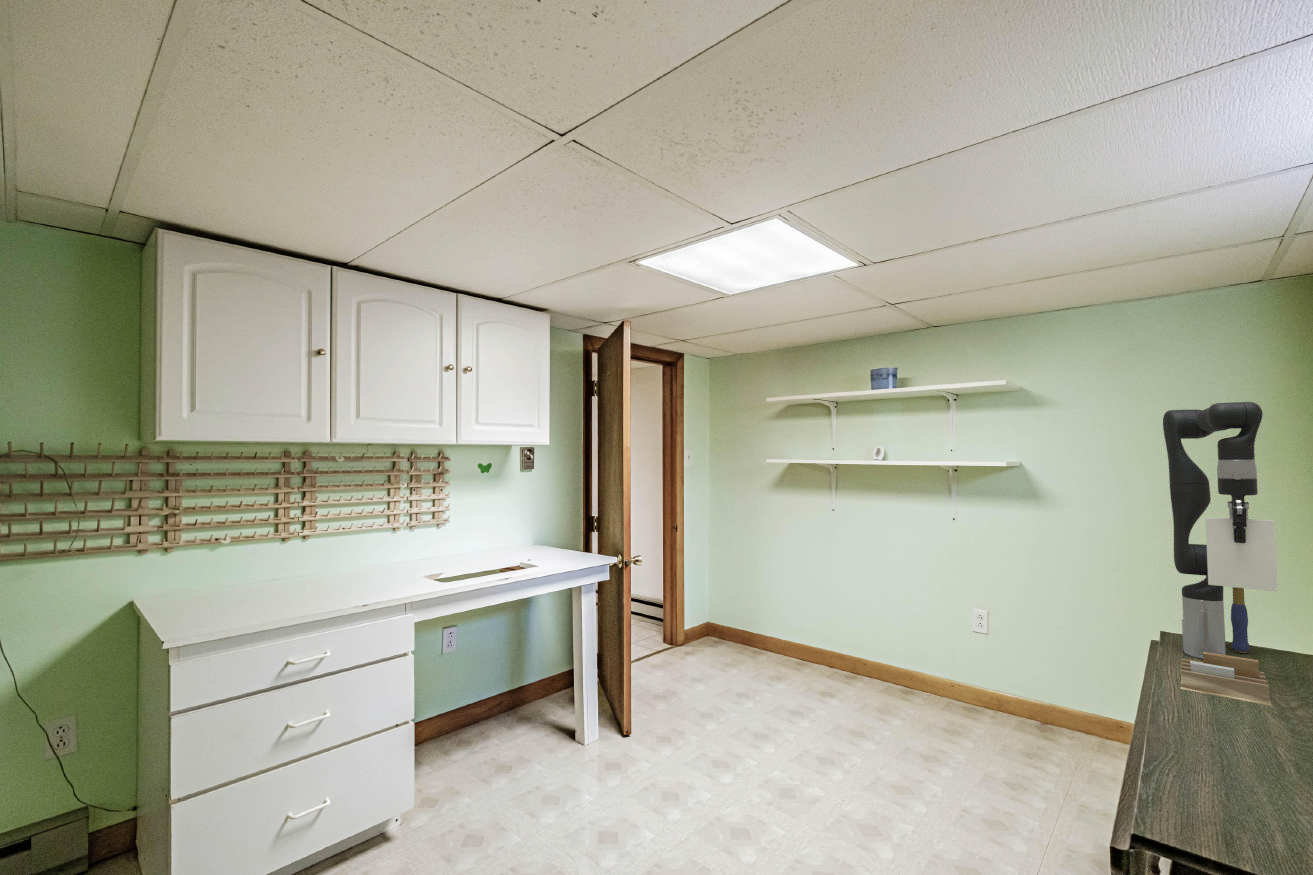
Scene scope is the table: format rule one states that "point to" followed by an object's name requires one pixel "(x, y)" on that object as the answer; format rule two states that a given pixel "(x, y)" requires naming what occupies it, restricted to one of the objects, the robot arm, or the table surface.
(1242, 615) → the rubber mallet
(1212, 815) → the table surface
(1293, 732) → the table surface
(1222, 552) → the sheet
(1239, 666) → the offcut oak
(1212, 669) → the offcut grey
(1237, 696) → the rack
